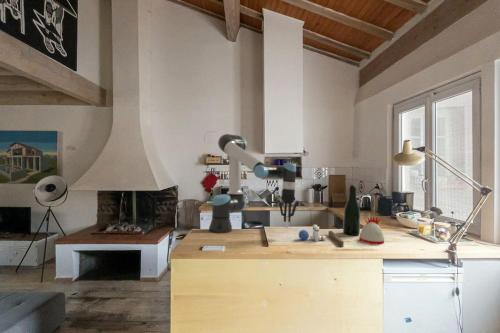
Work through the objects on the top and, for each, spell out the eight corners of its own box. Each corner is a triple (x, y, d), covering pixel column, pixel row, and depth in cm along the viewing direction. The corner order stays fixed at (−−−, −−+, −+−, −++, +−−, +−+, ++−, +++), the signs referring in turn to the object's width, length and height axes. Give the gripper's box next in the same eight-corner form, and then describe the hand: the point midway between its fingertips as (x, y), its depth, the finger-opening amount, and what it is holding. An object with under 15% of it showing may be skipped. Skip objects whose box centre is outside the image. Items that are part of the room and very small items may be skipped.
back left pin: (311, 238, 170) (312, 225, 170) (314, 238, 171) (314, 224, 171) (315, 239, 168) (315, 225, 168) (317, 239, 170) (318, 225, 170)
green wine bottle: (360, 236, 179) (362, 185, 178) (343, 235, 181) (345, 185, 181) (358, 232, 189) (360, 184, 188) (342, 231, 191) (343, 184, 191)
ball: (311, 237, 166) (303, 243, 167) (306, 229, 170) (298, 234, 171) (308, 235, 162) (300, 240, 163) (303, 226, 166) (295, 232, 166)
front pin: (310, 234, 167) (325, 235, 167) (310, 237, 169) (324, 237, 169) (311, 238, 165) (325, 239, 165) (310, 240, 167) (324, 241, 167)
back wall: (339, 246, 155) (339, 241, 155) (328, 235, 179) (328, 230, 179) (343, 246, 155) (343, 241, 155) (331, 235, 179) (331, 231, 179)
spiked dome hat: (386, 245, 161) (387, 219, 161) (361, 243, 164) (362, 218, 164) (380, 239, 175) (381, 215, 175) (357, 237, 177) (358, 214, 177)
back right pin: (313, 241, 165) (314, 226, 165) (315, 240, 166) (316, 226, 166) (317, 242, 163) (317, 227, 163) (319, 241, 165) (319, 227, 165)
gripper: (278, 188, 164) (276, 228, 164) (300, 189, 163) (298, 229, 164) (277, 187, 171) (275, 225, 172) (298, 188, 171) (296, 226, 171)
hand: (286, 227), depth 168 cm, fingers closed
